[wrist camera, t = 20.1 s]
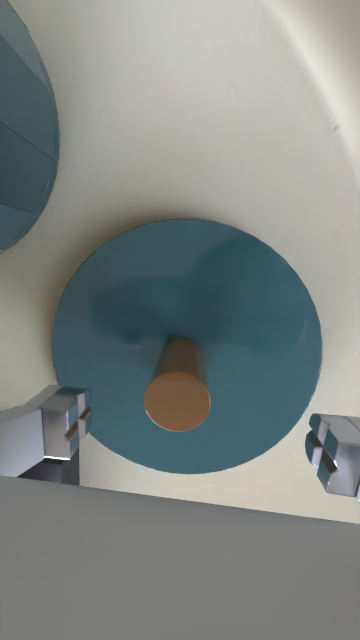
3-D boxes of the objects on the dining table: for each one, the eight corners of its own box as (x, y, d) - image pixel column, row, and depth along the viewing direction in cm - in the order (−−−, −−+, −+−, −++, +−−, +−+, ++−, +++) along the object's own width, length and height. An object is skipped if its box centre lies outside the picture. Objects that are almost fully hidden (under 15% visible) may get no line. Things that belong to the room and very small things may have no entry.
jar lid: (339, 233, 13) (435, 214, 8) (286, 471, 16) (328, 569, 11) (59, 212, 13) (-27, 180, 8) (65, 445, 17) (8, 525, 11)
